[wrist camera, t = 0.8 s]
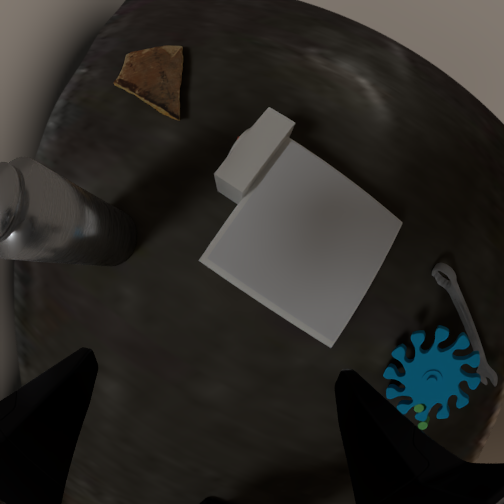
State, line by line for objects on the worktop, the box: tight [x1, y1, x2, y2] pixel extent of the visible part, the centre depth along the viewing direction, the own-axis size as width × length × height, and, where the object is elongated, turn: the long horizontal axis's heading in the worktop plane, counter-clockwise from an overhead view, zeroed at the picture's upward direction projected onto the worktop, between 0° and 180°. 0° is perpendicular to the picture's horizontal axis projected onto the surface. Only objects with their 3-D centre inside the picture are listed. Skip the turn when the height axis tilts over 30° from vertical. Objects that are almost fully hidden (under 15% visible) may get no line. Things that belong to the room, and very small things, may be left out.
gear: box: [383, 325, 481, 430], centre depth 20 cm, size 11×6×10 cm
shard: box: [114, 46, 183, 120], centre depth 23 cm, size 11×8×2 cm
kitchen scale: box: [199, 107, 403, 348], centre depth 21 cm, size 12×15×4 cm
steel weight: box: [0, 157, 137, 266], centre depth 15 cm, size 5×5×14 cm
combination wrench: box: [432, 263, 498, 386], centre depth 22 cm, size 4×1×20 cm
